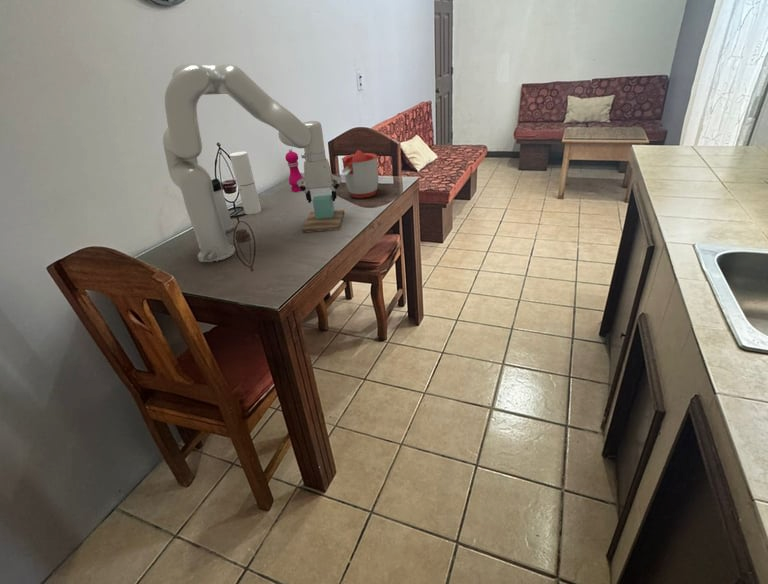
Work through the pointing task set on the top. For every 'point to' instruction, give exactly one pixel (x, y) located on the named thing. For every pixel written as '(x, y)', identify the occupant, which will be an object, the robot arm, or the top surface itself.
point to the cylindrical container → (245, 182)
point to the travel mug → (222, 205)
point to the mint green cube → (323, 206)
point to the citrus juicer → (361, 174)
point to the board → (323, 222)
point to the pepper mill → (293, 170)
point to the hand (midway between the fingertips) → (322, 201)
